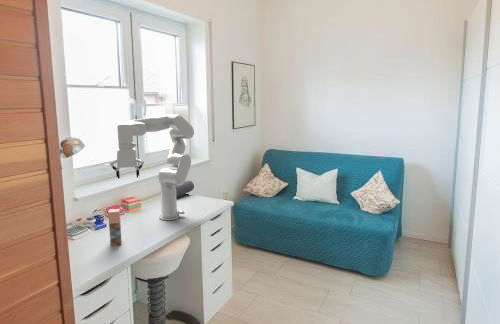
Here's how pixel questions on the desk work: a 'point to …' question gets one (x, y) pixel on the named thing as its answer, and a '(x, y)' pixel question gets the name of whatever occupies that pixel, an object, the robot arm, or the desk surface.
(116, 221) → the terracotta cube
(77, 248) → the desk surface
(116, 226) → the tower
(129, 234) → the desk surface
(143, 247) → the desk surface
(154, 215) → the desk surface
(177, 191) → the bluetooth speaker
